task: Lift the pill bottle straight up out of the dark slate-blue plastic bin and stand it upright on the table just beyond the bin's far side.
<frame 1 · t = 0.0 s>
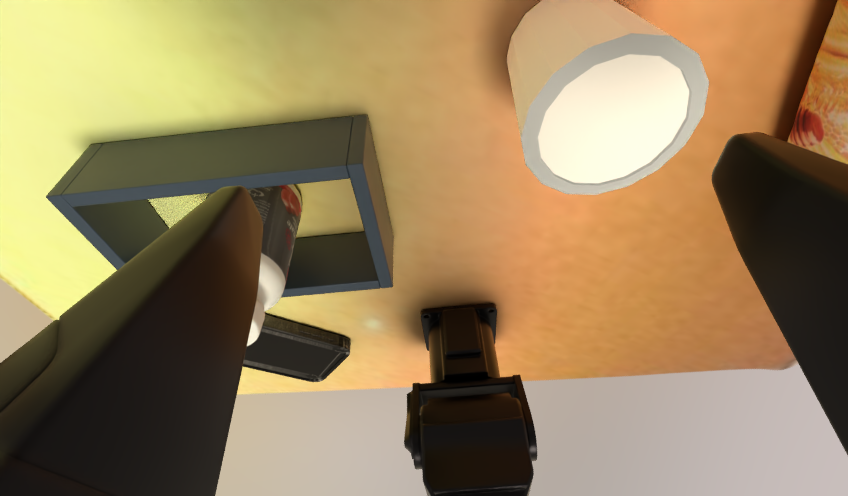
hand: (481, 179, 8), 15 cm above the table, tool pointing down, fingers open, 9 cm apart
white cup: (562, 49, 21), on the table
snack package: (835, 106, 24), on the table
phone: (261, 335, 39), on the table
pill bottle: (260, 193, 27), resting in bin
bin: (259, 195, 27), on the table
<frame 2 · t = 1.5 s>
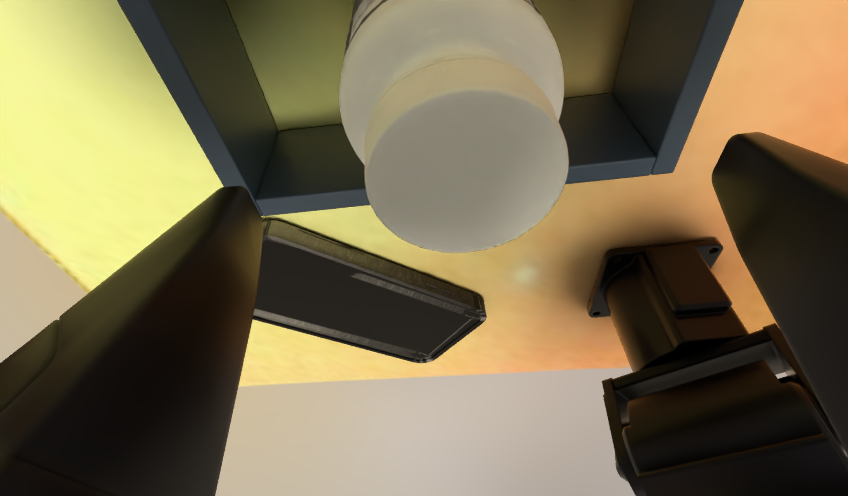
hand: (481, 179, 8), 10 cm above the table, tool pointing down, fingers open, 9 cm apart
phone: (360, 294, 27), on the table
pill bottle: (434, 6, 15), resting in bin
bin: (434, 8, 15), on the table
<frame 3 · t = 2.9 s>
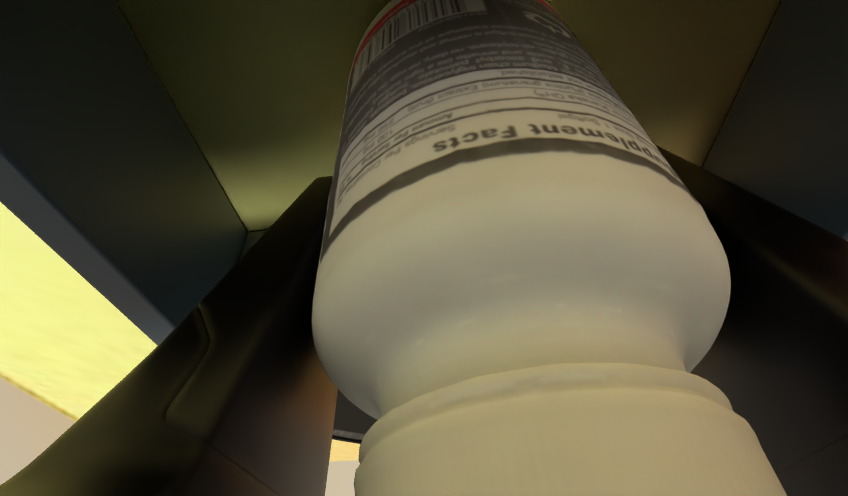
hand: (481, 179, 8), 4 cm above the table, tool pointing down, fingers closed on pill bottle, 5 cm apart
phone: (356, 388, 22), on the table
pill bottle: (459, 85, 11), resting in bin, touching gripper
bin: (460, 89, 10), on the table
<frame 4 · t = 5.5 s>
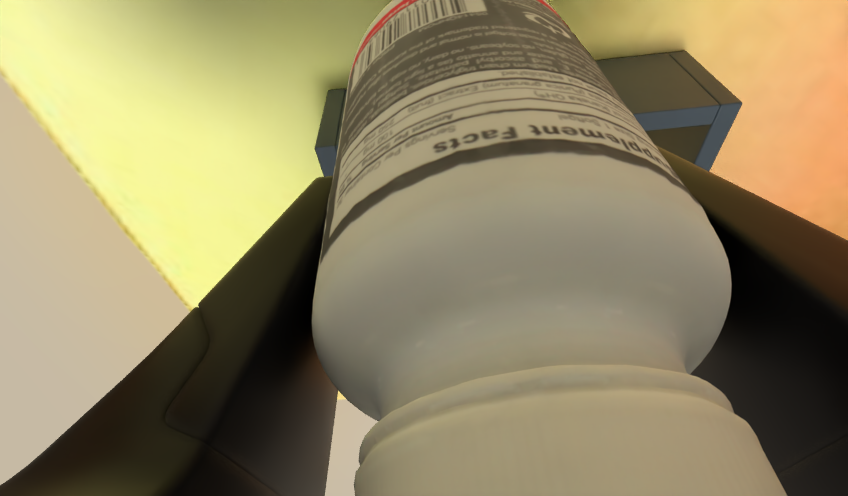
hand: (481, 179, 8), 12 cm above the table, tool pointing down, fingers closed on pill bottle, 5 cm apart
pill bottle: (459, 86, 11), point 8 cm above the table, touching gripper
bin: (499, 160, 22), on the table
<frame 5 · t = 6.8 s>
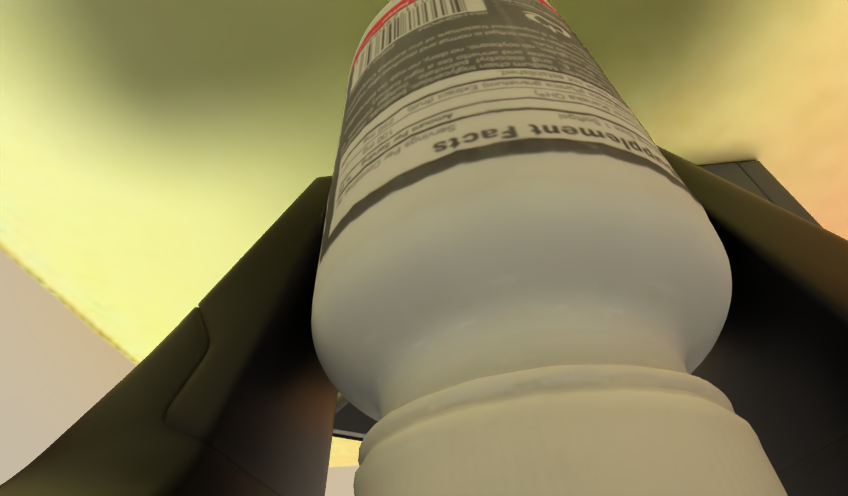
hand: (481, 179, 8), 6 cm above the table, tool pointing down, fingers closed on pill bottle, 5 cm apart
phone: (427, 412, 31), on the table
pill bottle: (459, 86, 11), point 2 cm above the table, touching gripper
bin: (528, 265, 19), on the table
when the fingers open (4 cm above the table, at t = 7.9 s): pill bottle stays where it is, on the table.
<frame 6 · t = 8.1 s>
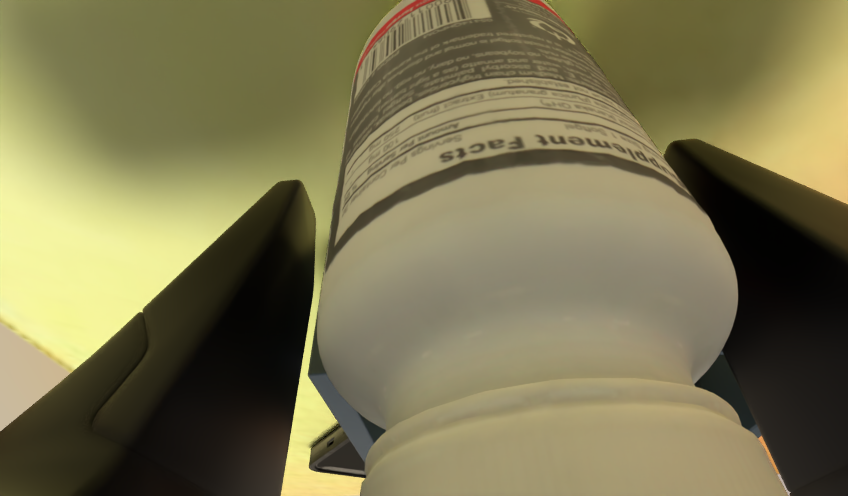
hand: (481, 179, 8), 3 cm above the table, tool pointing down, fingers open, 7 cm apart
phone: (430, 447, 30), on the table
pill bottle: (463, 90, 11), on the table
bin: (542, 310, 18), on the table
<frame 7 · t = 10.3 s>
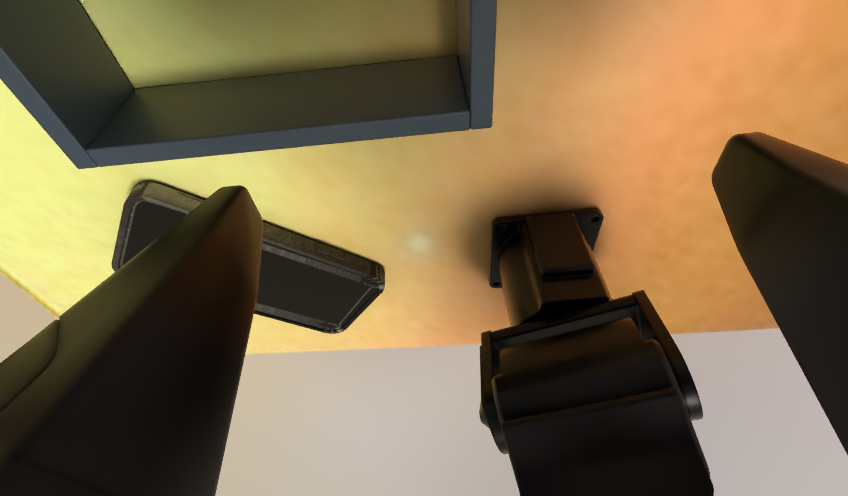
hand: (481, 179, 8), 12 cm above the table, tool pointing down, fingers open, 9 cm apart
phone: (260, 262, 27), on the table
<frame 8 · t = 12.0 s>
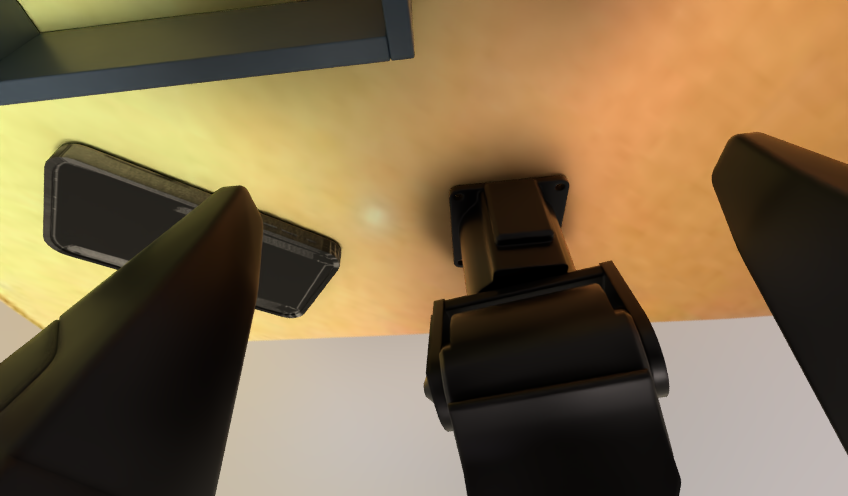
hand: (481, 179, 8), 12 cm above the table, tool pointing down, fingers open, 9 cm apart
phone: (206, 237, 26), on the table
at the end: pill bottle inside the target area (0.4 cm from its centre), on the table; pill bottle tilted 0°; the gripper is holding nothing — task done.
